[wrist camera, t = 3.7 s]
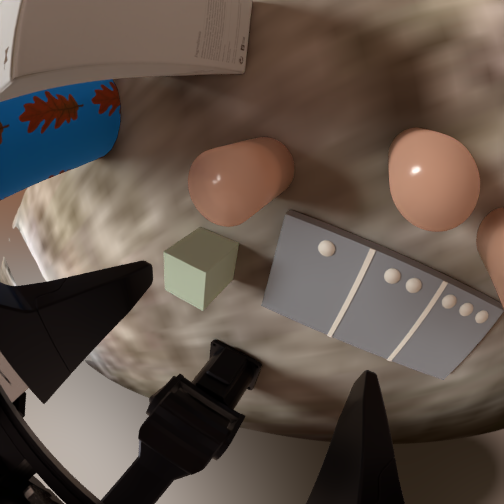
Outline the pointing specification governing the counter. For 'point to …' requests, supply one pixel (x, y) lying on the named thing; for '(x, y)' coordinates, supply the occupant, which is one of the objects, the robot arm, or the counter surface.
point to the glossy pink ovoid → (239, 179)
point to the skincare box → (117, 40)
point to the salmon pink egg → (432, 179)
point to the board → (375, 297)
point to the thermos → (55, 132)
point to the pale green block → (200, 267)
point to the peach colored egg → (493, 248)
